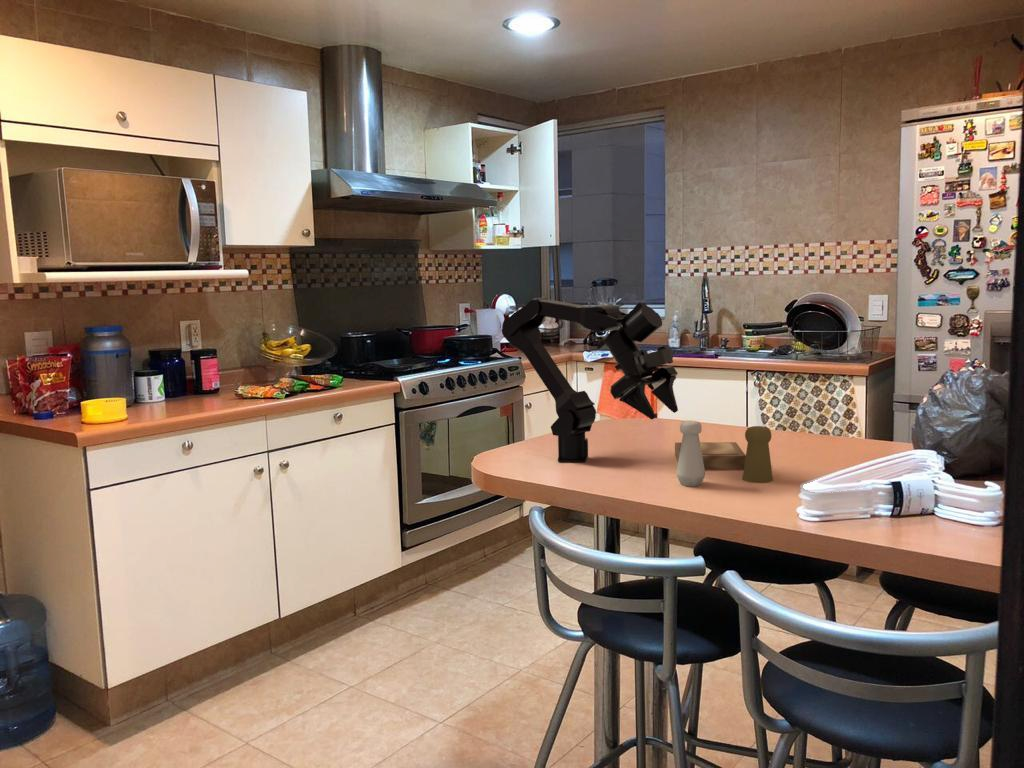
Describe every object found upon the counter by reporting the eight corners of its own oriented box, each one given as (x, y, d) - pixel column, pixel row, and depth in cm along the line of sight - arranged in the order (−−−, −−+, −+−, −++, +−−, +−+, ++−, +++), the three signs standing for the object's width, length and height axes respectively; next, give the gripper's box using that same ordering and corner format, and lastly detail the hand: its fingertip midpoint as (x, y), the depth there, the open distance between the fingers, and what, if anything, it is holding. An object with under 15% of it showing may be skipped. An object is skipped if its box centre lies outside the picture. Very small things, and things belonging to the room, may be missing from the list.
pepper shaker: (768, 484, 164) (769, 430, 162) (738, 480, 167) (739, 428, 166) (776, 477, 169) (777, 425, 167) (747, 474, 172) (747, 423, 171)
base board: (680, 469, 178) (680, 455, 177) (674, 455, 191) (674, 441, 191) (746, 469, 176) (746, 455, 176) (735, 454, 190) (735, 441, 189)
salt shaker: (705, 488, 162) (705, 424, 161) (676, 487, 163) (676, 424, 162) (704, 480, 168) (704, 418, 166) (676, 480, 169) (676, 418, 167)
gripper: (628, 336, 165) (669, 401, 160) (675, 329, 179) (713, 388, 174) (593, 367, 171) (631, 429, 167) (640, 358, 185) (677, 415, 181)
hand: (665, 415), depth 172 cm, fingers open, 9 cm apart
